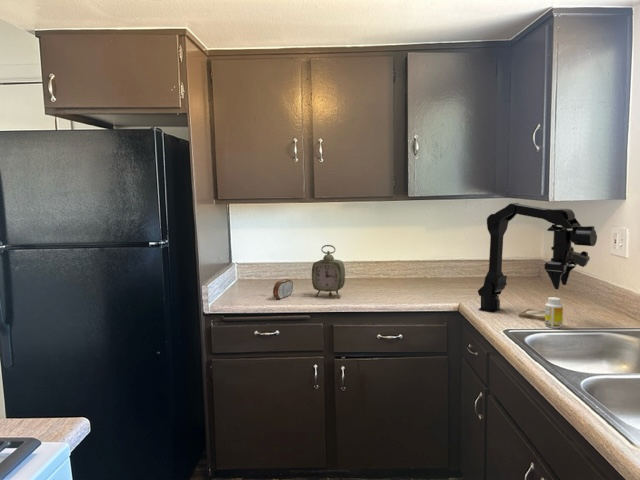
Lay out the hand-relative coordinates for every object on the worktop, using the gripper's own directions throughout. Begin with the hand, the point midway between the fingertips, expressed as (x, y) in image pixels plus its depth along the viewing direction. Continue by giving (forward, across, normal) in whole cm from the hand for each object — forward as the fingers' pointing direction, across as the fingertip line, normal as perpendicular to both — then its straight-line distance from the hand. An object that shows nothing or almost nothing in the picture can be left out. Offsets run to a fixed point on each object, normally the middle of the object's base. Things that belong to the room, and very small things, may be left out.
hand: (560, 287), depth 163 cm
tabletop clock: (+14, -18, +96) cm, 99 cm away
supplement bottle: (+14, -4, +1) cm, 15 cm away
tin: (+14, -33, +112) cm, 118 cm away
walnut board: (+14, +6, +10) cm, 18 cm away
